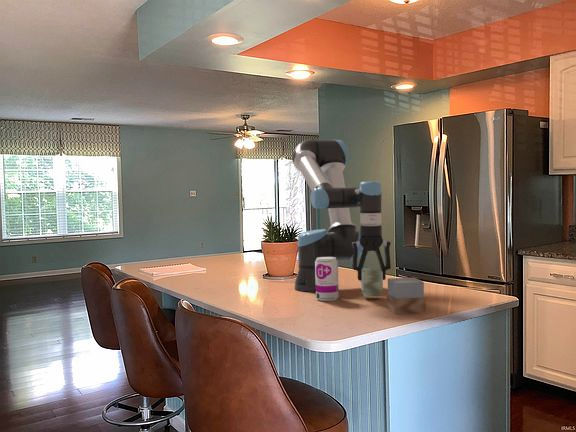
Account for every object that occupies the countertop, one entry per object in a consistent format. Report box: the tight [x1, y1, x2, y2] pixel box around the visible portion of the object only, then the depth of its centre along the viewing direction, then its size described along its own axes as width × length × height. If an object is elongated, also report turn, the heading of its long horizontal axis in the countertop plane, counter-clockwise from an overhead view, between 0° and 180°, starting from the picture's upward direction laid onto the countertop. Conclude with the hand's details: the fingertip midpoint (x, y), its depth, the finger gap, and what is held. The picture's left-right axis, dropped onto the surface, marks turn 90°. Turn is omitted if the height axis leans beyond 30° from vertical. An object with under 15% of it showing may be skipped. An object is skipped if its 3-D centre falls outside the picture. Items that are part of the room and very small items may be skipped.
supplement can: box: [315, 257, 339, 302], centre depth 187 cm, size 8×8×15 cm
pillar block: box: [361, 267, 383, 297], centre depth 186 cm, size 6×6×9 cm
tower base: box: [386, 292, 427, 315], centre depth 167 cm, size 10×10×5 cm
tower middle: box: [387, 277, 425, 299], centre depth 167 cm, size 9×9×5 cm
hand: (371, 289), depth 186 cm, fingers closed on pillar block, 6 cm apart
